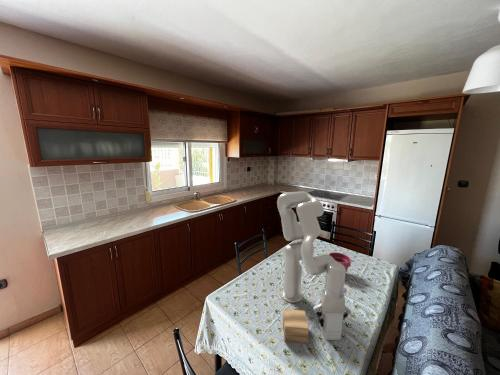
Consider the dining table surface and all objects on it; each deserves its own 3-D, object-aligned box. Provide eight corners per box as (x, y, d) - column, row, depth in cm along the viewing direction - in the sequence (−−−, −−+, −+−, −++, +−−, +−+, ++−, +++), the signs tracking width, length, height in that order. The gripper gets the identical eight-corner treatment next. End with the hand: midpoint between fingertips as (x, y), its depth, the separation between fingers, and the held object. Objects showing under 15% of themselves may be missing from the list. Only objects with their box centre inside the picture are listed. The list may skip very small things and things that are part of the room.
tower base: (282, 323, 100) (283, 316, 100) (303, 325, 100) (304, 318, 99) (284, 342, 91) (285, 335, 90) (307, 344, 90) (308, 336, 89)
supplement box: (333, 326, 99) (336, 302, 97) (341, 340, 92) (343, 315, 90) (318, 326, 99) (320, 303, 97) (324, 340, 92) (327, 315, 89)
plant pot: (344, 269, 147) (346, 252, 144) (352, 281, 133) (354, 263, 130) (324, 267, 148) (325, 251, 146) (329, 280, 134) (331, 262, 132)
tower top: (283, 316, 100) (283, 308, 99) (304, 317, 99) (304, 310, 98) (284, 334, 90) (285, 326, 90) (308, 336, 89) (308, 328, 89)
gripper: (350, 286, 95) (346, 319, 98) (311, 284, 95) (309, 317, 99) (357, 297, 87) (353, 333, 90) (315, 295, 88) (312, 330, 91)
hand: (330, 324), depth 95 cm, fingers closed on supplement box, 7 cm apart
